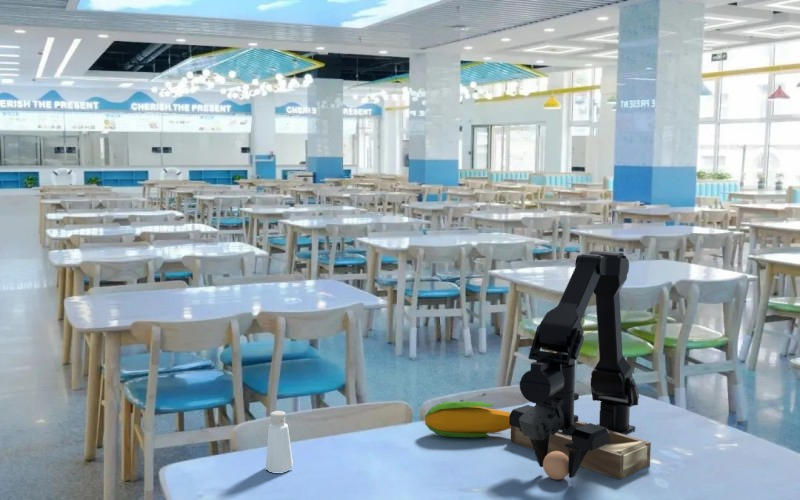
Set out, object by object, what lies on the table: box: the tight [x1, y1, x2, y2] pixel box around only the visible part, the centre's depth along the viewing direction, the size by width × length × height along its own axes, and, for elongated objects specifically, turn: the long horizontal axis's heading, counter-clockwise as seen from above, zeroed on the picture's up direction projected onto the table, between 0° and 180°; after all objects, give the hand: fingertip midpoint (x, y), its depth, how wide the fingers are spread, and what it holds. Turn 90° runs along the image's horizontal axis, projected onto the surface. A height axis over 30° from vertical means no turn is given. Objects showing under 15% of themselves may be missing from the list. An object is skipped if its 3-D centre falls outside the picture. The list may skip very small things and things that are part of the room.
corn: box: [424, 401, 511, 439], centre depth 172 cm, size 7×8×20 cm
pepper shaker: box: [265, 410, 294, 472], centre depth 155 cm, size 5×5×11 cm
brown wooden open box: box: [510, 420, 652, 480], centre depth 162 cm, size 10×26×5 cm, turn 41°
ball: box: [542, 451, 569, 481], centre depth 150 cm, size 5×5×5 cm
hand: (556, 471), depth 150 cm, fingers open, 6 cm apart
